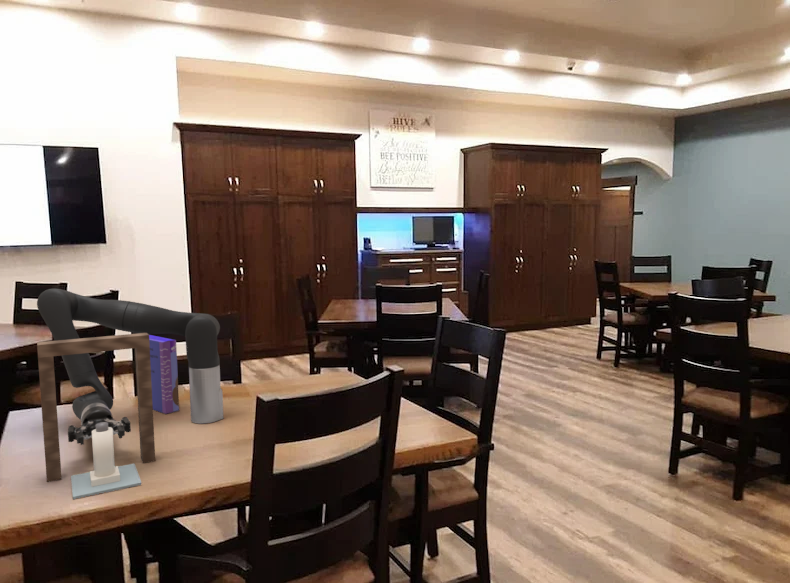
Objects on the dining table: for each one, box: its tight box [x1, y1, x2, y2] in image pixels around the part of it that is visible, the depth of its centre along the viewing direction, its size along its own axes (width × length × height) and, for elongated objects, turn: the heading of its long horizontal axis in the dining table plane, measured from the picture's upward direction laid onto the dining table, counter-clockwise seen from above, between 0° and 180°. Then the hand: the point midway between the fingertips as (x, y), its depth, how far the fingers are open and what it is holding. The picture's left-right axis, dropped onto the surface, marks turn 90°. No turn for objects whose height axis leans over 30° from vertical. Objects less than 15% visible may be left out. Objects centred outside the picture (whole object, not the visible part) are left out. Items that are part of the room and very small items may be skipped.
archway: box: [36, 333, 156, 483], centre depth 141 cm, size 24×4×33 cm, turn 121°
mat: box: [70, 463, 142, 500], centre depth 135 cm, size 14×13×1 cm
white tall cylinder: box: [89, 422, 120, 487], centre depth 134 cm, size 6×6×14 cm
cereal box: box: [149, 334, 180, 415], centre depth 191 cm, size 17×5×24 cm, turn 52°
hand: (101, 437), depth 141 cm, fingers open, 8 cm apart
